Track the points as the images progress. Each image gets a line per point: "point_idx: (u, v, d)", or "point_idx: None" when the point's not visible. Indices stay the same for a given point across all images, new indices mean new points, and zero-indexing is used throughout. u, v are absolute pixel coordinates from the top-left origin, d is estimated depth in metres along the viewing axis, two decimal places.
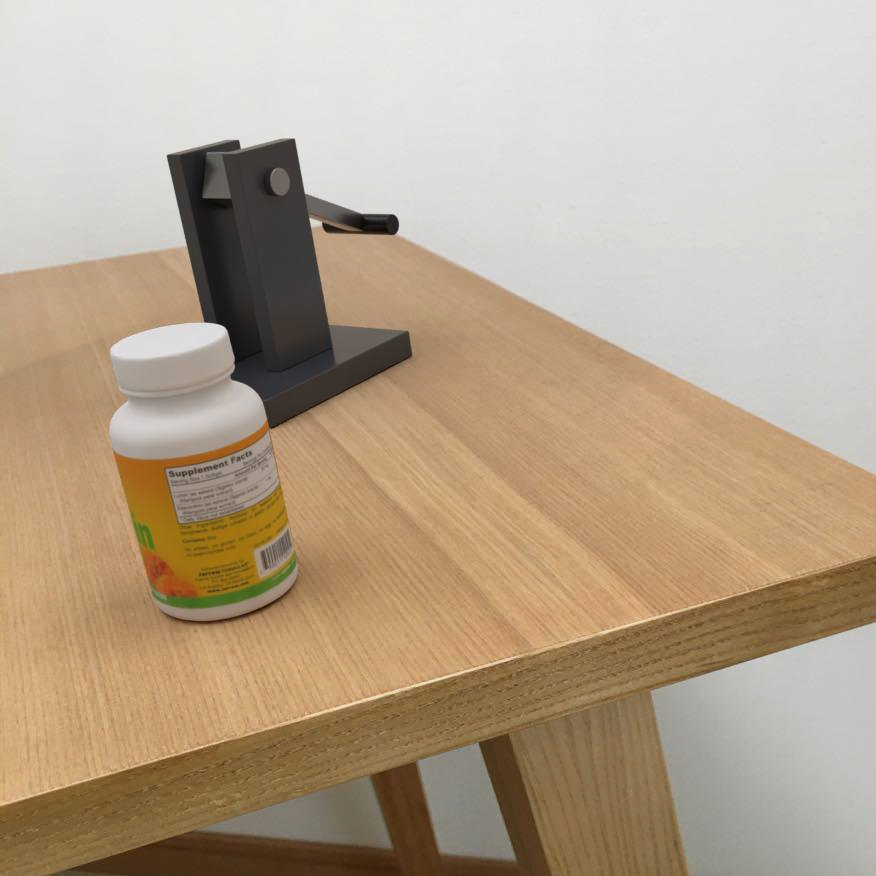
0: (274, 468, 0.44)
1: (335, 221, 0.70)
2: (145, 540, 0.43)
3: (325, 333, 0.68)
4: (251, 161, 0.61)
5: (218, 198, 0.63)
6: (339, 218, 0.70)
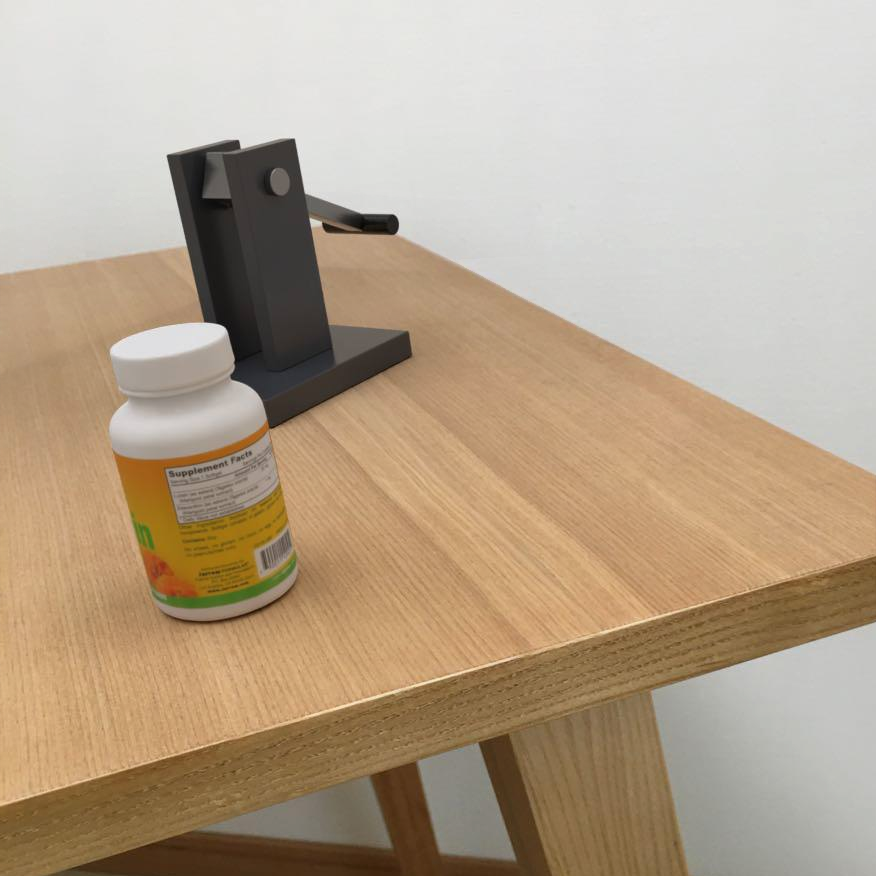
0: (274, 468, 0.44)
1: (335, 221, 0.70)
2: (145, 540, 0.43)
3: (325, 333, 0.68)
4: (251, 161, 0.61)
5: (218, 198, 0.63)
6: (339, 218, 0.70)
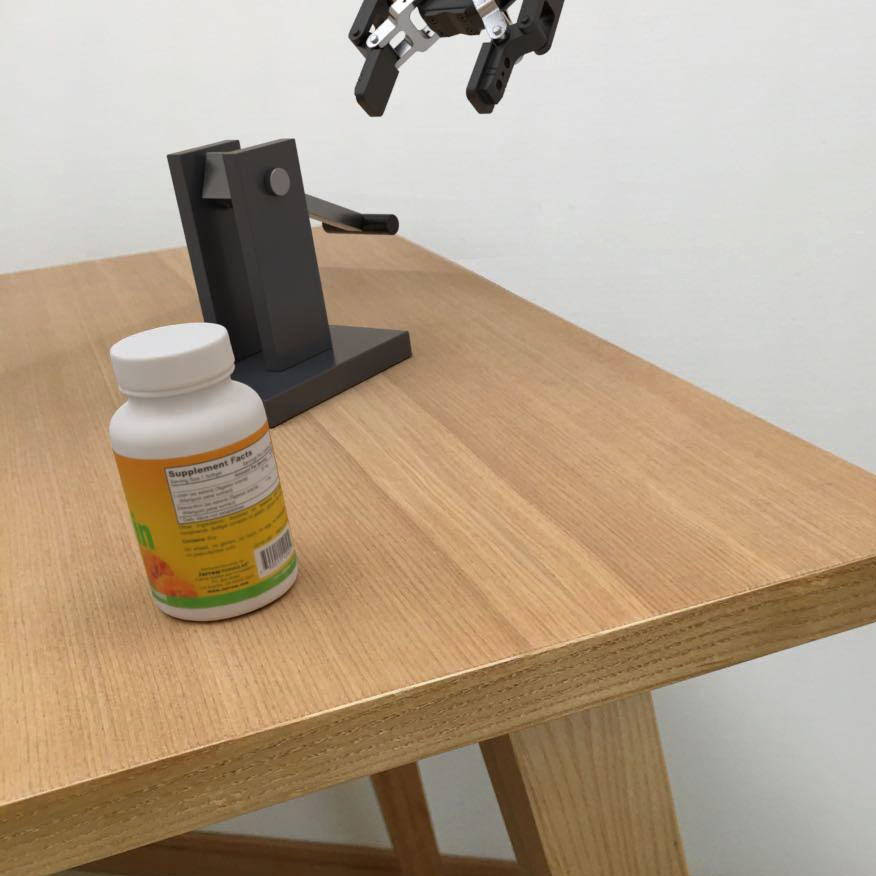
0: (274, 468, 0.44)
1: (335, 221, 0.70)
2: (145, 540, 0.43)
3: (325, 333, 0.68)
4: (251, 161, 0.61)
5: (218, 198, 0.63)
6: (339, 218, 0.70)
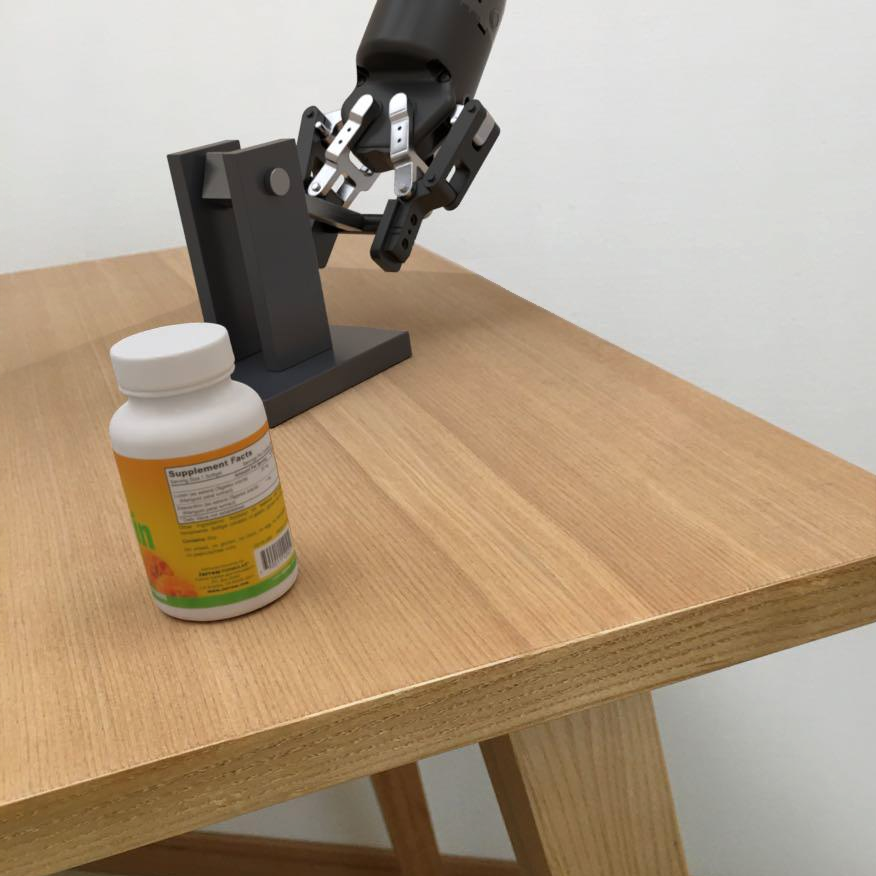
0: (274, 468, 0.44)
1: (335, 221, 0.70)
2: (145, 540, 0.43)
3: (325, 333, 0.68)
4: (251, 161, 0.61)
5: (218, 198, 0.63)
6: (339, 218, 0.70)
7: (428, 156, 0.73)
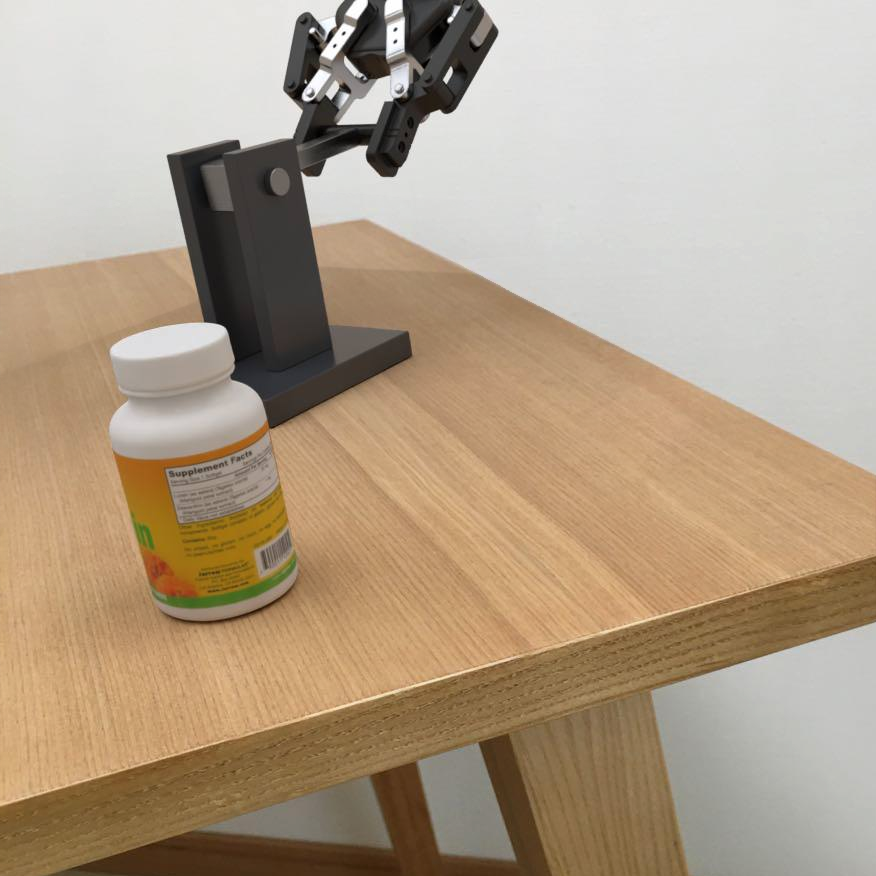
0: (274, 468, 0.44)
1: (334, 155, 0.69)
2: (145, 540, 0.43)
3: (325, 333, 0.68)
4: (251, 161, 0.61)
5: (227, 211, 0.64)
6: (337, 149, 0.69)
7: (425, 60, 0.72)
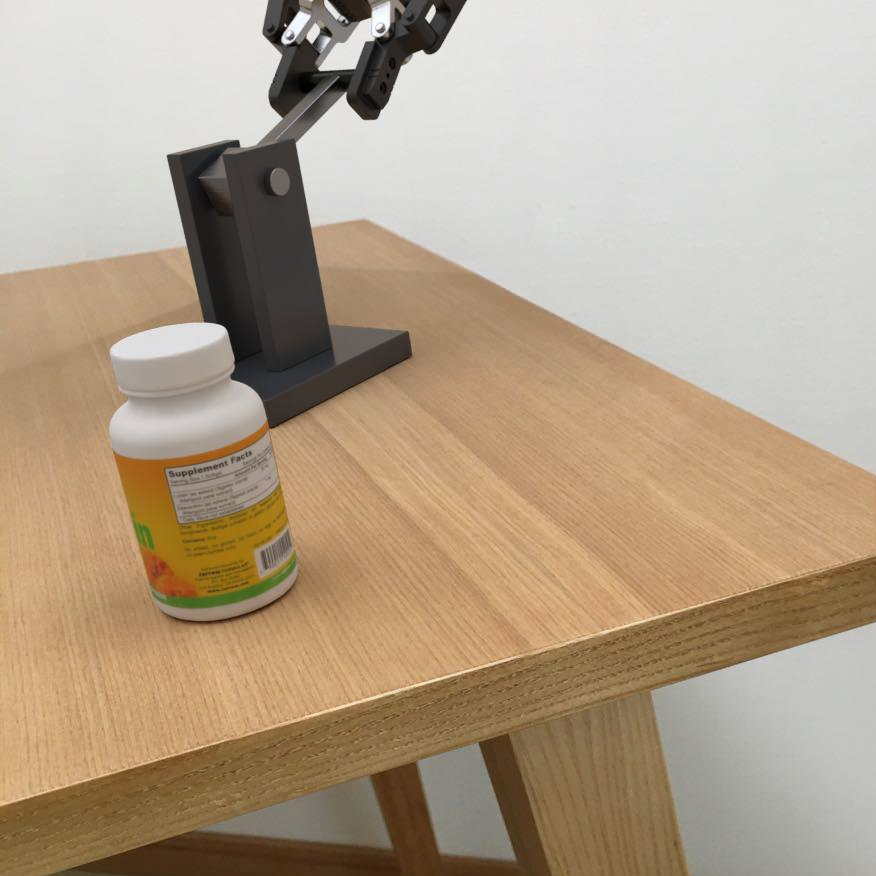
0: (274, 468, 0.44)
1: (323, 114, 0.68)
2: (145, 540, 0.43)
3: (325, 333, 0.68)
4: (251, 161, 0.61)
5: None
6: (324, 107, 0.68)
7: (407, 0, 0.69)
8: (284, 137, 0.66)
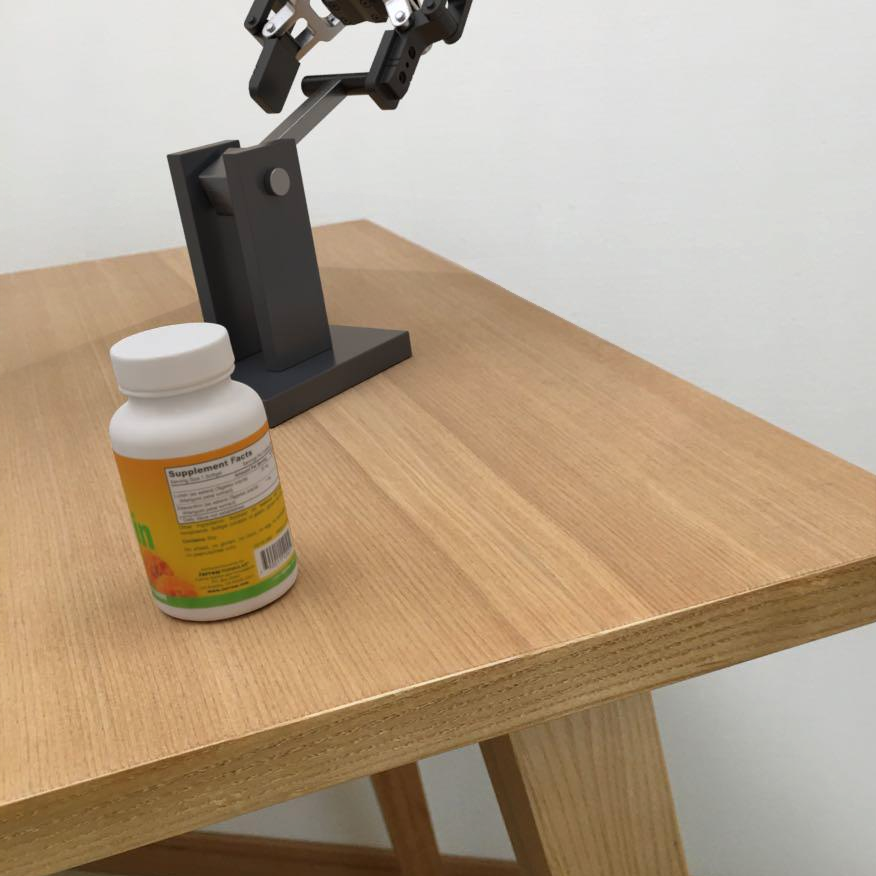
0: (274, 468, 0.44)
1: (324, 117, 0.68)
2: (145, 540, 0.43)
3: (325, 333, 0.68)
4: (251, 161, 0.61)
5: (234, 215, 0.64)
6: (325, 110, 0.68)
7: None
8: (285, 138, 0.66)
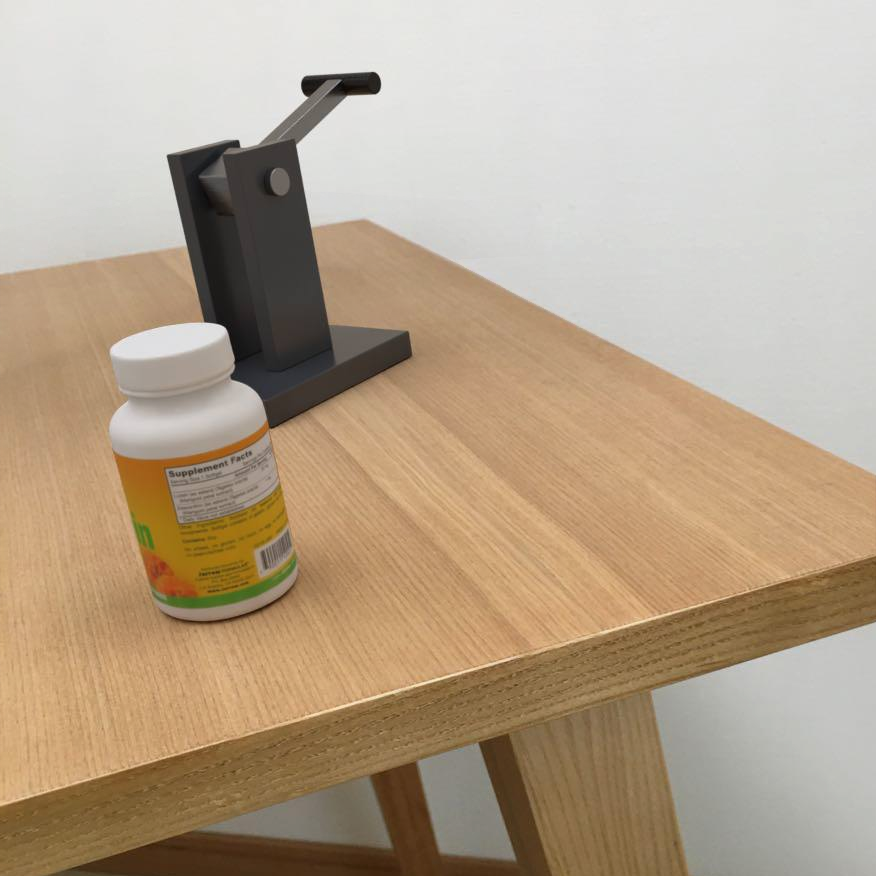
0: (274, 468, 0.44)
1: (324, 117, 0.68)
2: (145, 540, 0.43)
3: (325, 333, 0.68)
4: (251, 161, 0.61)
5: (234, 215, 0.64)
6: (325, 110, 0.68)
7: None
8: (285, 138, 0.66)
